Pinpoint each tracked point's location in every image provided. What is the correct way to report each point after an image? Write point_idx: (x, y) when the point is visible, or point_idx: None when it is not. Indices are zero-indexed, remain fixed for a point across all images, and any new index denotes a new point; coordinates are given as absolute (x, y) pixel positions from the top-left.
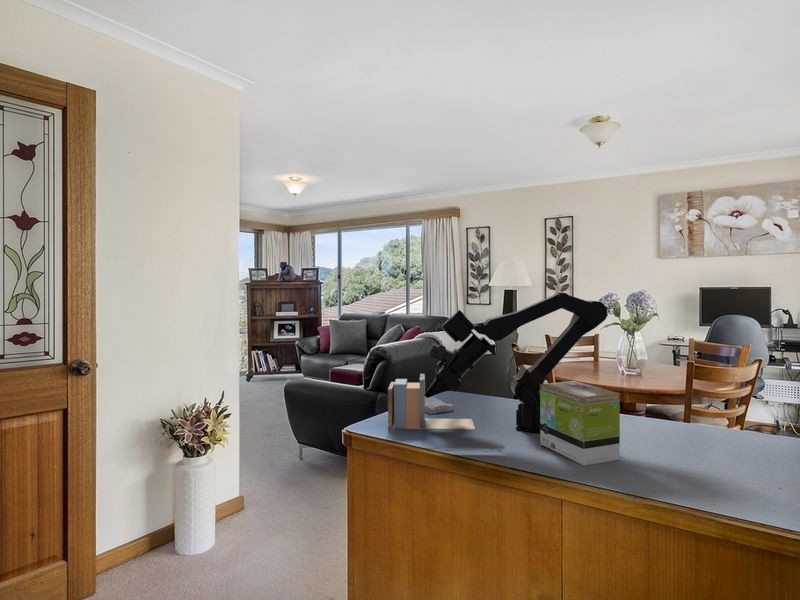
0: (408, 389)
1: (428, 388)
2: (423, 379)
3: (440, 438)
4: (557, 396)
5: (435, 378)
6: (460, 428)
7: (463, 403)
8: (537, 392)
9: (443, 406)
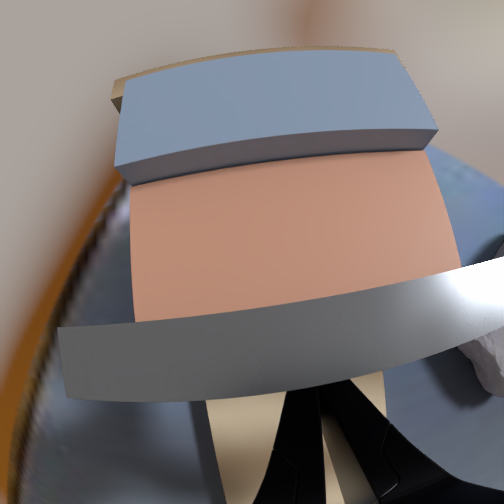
0: (133, 214)
1: (351, 387)
2: (83, 386)
3: (148, 413)
4: None
5: (391, 498)
6: (229, 490)
7: None
8: None
9: (497, 370)
